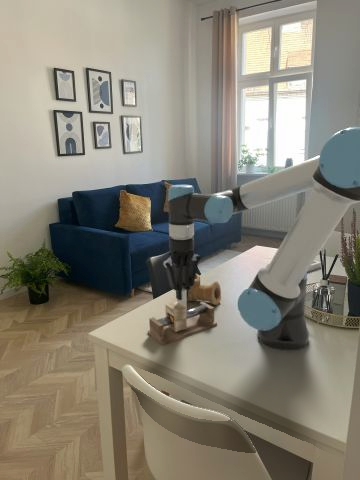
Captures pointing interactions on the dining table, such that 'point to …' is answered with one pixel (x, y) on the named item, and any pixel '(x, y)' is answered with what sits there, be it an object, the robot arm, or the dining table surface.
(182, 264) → the robot arm
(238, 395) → the dining table surface
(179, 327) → the collar
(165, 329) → the cradle
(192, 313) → the rod
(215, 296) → the pipe
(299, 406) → the dining table surface
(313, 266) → the parts corral
